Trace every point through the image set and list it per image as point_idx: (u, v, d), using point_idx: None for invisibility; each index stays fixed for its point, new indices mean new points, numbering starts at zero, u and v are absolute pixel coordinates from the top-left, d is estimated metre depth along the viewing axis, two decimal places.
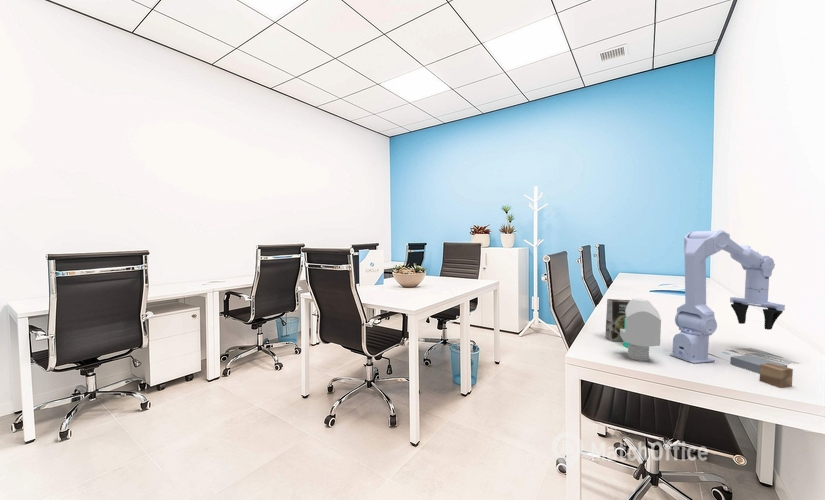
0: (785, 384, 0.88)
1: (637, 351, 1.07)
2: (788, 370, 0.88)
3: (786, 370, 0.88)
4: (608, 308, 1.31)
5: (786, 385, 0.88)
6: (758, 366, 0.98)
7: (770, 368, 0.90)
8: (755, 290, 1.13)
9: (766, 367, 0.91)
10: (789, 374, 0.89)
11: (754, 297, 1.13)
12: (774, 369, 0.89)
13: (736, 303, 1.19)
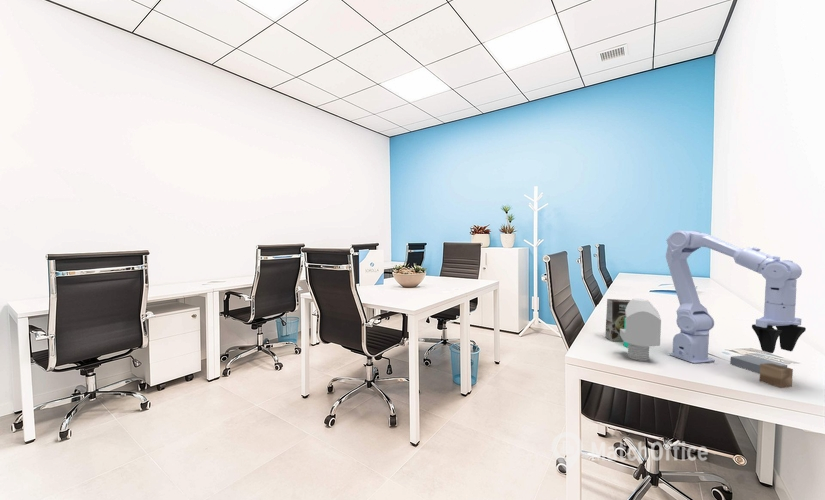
0: (785, 384, 0.88)
1: (637, 351, 1.07)
2: (788, 370, 0.88)
3: (786, 370, 0.88)
4: (608, 308, 1.31)
5: (786, 385, 0.88)
6: (758, 366, 0.98)
7: (770, 368, 0.90)
8: None
9: (766, 367, 0.91)
10: (789, 374, 0.89)
11: (764, 311, 0.92)
12: (774, 369, 0.89)
13: None
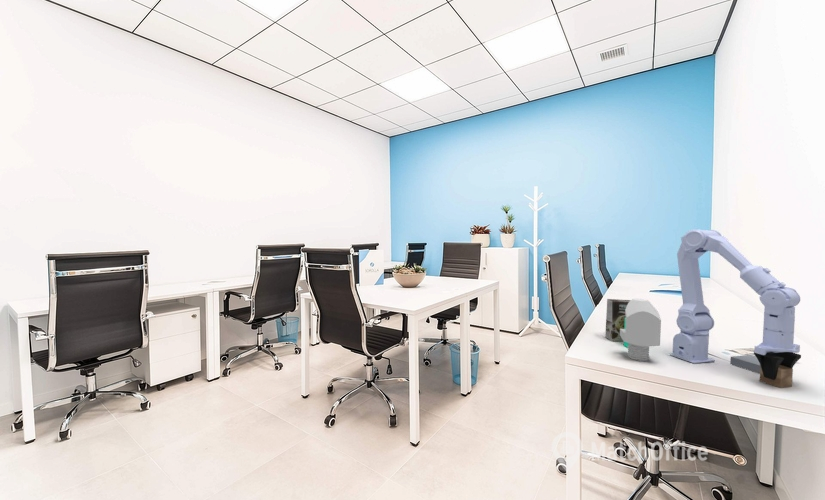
0: (785, 384, 0.88)
1: (637, 351, 1.07)
2: (788, 370, 0.88)
3: (786, 370, 0.88)
4: (608, 308, 1.31)
5: (786, 385, 0.88)
6: (758, 366, 0.98)
7: None
8: (763, 329, 0.92)
9: None
10: (789, 374, 0.88)
11: None
12: None
13: None
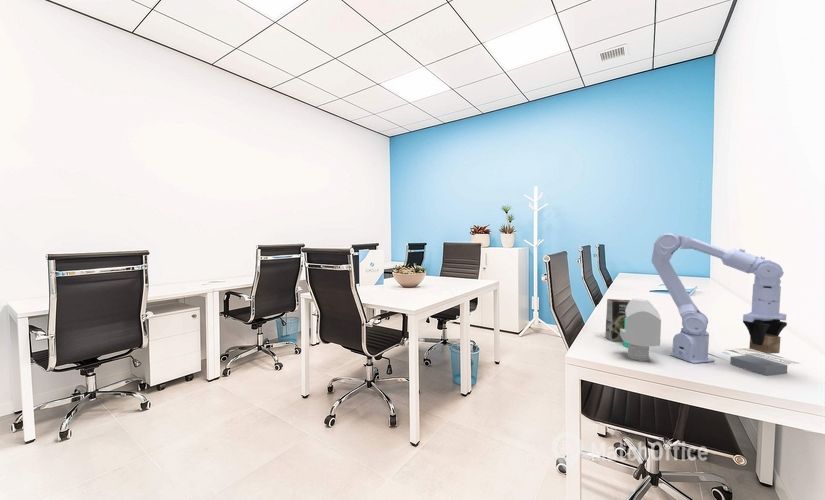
0: (772, 350, 0.96)
1: (637, 351, 1.07)
2: (776, 337, 0.96)
3: (774, 337, 0.96)
4: (608, 308, 1.31)
5: (773, 351, 0.96)
6: (758, 366, 0.98)
7: None
8: (752, 299, 1.00)
9: None
10: (777, 341, 0.96)
11: None
12: None
13: None
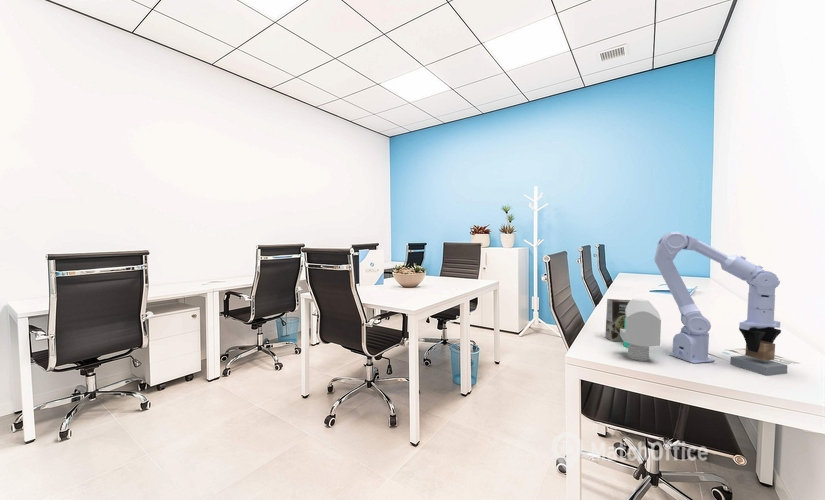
0: (767, 357, 0.99)
1: (637, 351, 1.07)
2: (771, 344, 0.99)
3: (769, 344, 0.99)
4: (608, 308, 1.31)
5: (768, 358, 0.99)
6: (758, 366, 0.98)
7: None
8: None
9: None
10: (771, 348, 0.99)
11: (747, 315, 1.03)
12: None
13: None
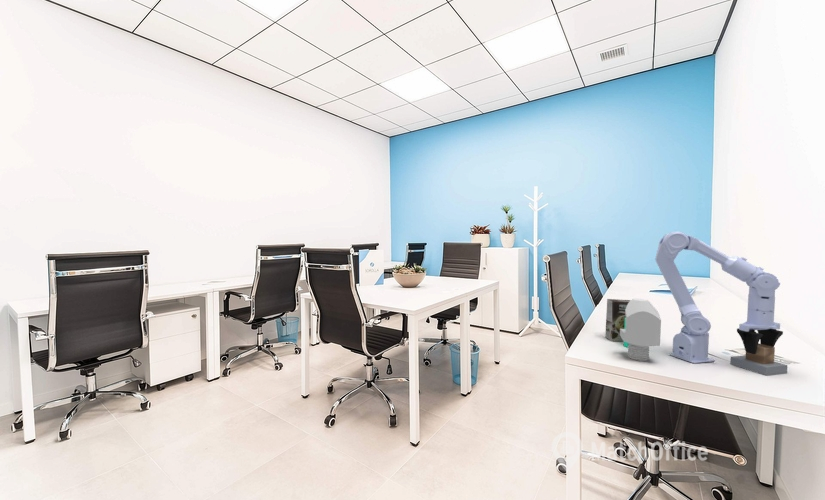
0: (768, 361, 0.99)
1: (637, 351, 1.07)
2: (770, 348, 0.99)
3: (769, 348, 0.99)
4: (608, 308, 1.31)
5: (769, 362, 0.99)
6: (758, 366, 0.98)
7: None
8: None
9: None
10: (771, 352, 0.99)
11: (747, 317, 1.03)
12: (758, 347, 1.00)
13: None
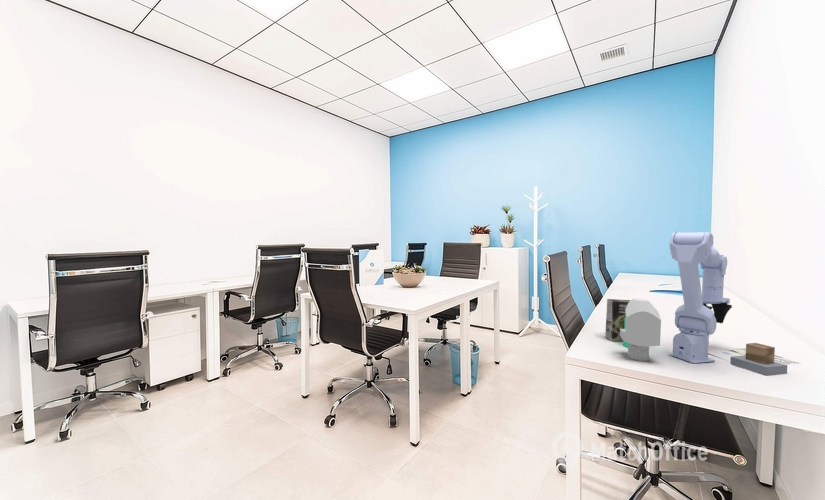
0: (768, 361, 0.99)
1: (637, 351, 1.07)
2: (770, 348, 0.99)
3: (769, 348, 0.99)
4: (608, 308, 1.31)
5: (769, 362, 0.99)
6: (758, 366, 0.98)
7: (754, 347, 1.00)
8: (702, 286, 1.20)
9: (751, 346, 1.01)
10: (771, 352, 0.99)
11: None
12: (758, 347, 1.00)
13: None
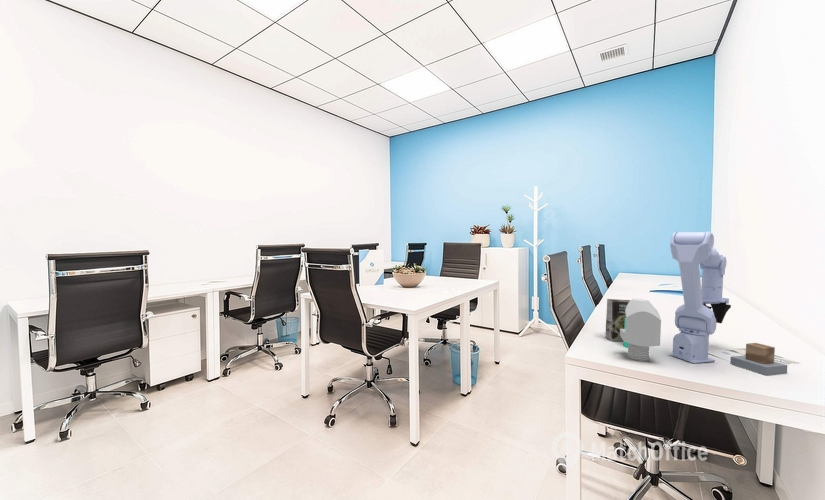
0: (768, 361, 0.99)
1: (637, 351, 1.07)
2: (770, 348, 0.99)
3: (769, 348, 0.99)
4: (608, 308, 1.31)
5: (769, 362, 0.99)
6: (758, 366, 0.98)
7: (754, 347, 1.00)
8: None
9: (751, 346, 1.01)
10: (771, 352, 0.99)
11: None
12: (758, 347, 1.00)
13: None
